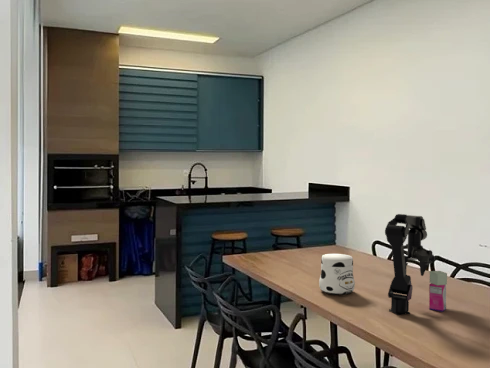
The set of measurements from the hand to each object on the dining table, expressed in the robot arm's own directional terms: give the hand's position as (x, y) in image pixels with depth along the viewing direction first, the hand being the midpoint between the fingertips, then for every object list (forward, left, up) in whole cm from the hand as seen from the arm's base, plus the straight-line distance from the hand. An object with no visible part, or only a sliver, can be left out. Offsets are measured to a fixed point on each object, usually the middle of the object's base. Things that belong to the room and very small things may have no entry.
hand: (413, 276), depth 213 cm
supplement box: (+4, -12, -12) cm, 17 cm away
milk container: (-26, +24, -12) cm, 38 cm away
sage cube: (+4, -12, -1) cm, 12 cm away
